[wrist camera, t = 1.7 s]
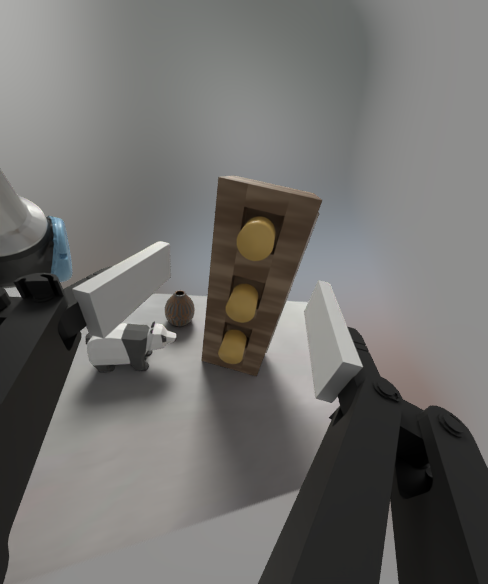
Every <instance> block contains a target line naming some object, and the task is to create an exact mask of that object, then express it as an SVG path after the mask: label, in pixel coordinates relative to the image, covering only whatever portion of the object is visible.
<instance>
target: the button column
mask: <svg viewBox="0 0 488 584" xmlns="http://www.w3.org/2000/svg"><path fill="white" fill-rule="evenodd" d="M321 203H322V200H321V199H320V198H319V197H318V196H316V195H315V194H314V193H310V192H305V191H301V190H296V189H292V188H287V187H282V186H278V185H274V184H269V183H264V182H260V181H256V180H251V179H247V178H242V177H238V176H224V177H219V178H218V189H217V199H216V211H215V221H214V232H213V244H212V253H211V265H210V276H209V287H208V297H207V308H206V319H205V329H204V340H203V351H202V361H204V362H208V363H211V364H215V365H218V366H222V367H225V368H229V369H233V370H236V371H240V372H243V373H247V374H250V375H254V376H257V374H258V371H259V368H260V366H261V363H262V360H263V358H264V355H265V353H267V350H268V348H269V345H270V342H271V340H272V337H273V335H274V332H275V329H276V326H277V324H278V321H279V319H280V316H281V313H282V311H283V308H284V305H285V303H286V300H287V298H288V295H289V293H290V290H291V287H292V284H293V281H294V279H295V276H296V273H297V271H298V268H299V266H300V263H301V260H302V258H303V255H304V252H305V250H306V248H307V245H308V243H309V240H310V237H311V234H312V232H313V229H314V226H315V224H316V221H317V218H318V216H319V212H318V210H319V208H320V205H321ZM258 216H259V217H265V218H267V219H269V220H270V221H271V222H272V223H273V225H274V227H275V240H274V246H273V250H272V252H271V253H270V255H269V256H268V257H266V258H265V259H263V260H260V261H251V260H248V259H246V258H245V257H243V256H242V255H241V253H240V252H239V250H238V248H237V236H238V234H239V232H240V231H241V230H242V228H243V227H244V226H245V224H246V223H247V222H248V221H249V220H250V219H252V218H254V217H258ZM239 284H249V285H251V286H253V287H254V288H255V289H256V290H257V292H258V301H257V306H256V310H255V315H254V317H253V318H252V319H251V320H250V321H248V322H244V323H241V322H236V321H234V320H232V319H231V318H230V317H229V316H228V315H227V313H226V305H227V303H228V300H229V298H230V296H231V294H232V291H233V289H234V288H235V287H236V286H237V285H239ZM229 330H239V331H241V332H242V333H244V334H245V336H246V338H247V340H246V345H245V349H244V353H243V358H242V361H241V362H240V363H237V364H229V363H226V362H224V361H223V360H221V359H220V357H219V355H218V352H219V349H220V346H221V344H222V341H223V338H224V336H225V333H226V332H227V331H229Z"/></svg>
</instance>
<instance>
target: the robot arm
mask: <svg viewBox="0 0 488 584" xmlns="http://www.w3.org/2000/svg"><path fill="white" fill-rule="evenodd" d="M71 276H72V264H71V256H70V249H69V243H68V238H67V233H66V228H65V224H64V222H63V220H62V219H60V218H55V217H52V216H48V217H46V216H45V214H44V213H43V212H42V210H41V209H40V208H39V207H38V206H37V205H35V204H34V203H32V202H31V201H29V200H27V199H26V198H23V197H21V196H19V195H17V193H16V192H15V190H14V189H13V187H12V186H11V184H10V183H9V181H8V179H7V178H6V176H5V175H4V173H3V172H2V170H1V169H0V584H3V582H4V579H5V575H6V572H7V568H8V561H9V551H8V538H9V534H10V530H11V527H12V525H13V522H14V519H15V516H16V514H17V511H18V508H19V506H20V503H21V500H22V497H23V495H24V492H25V489H26V487H27V484H28V481H29V478H30V476H31V473H32V470H33V468H34V465H35V462H36V459H37V457H38V454H39V451H40V449H41V446H42V443H43V440H44V438H45V435H46V432H47V430H48V427H49V424H50V421H51V419H52V416H53V413H54V411H55V408H56V405H57V402H58V400H59V397H60V394H61V392H62V389H63V386H64V383H65V381H66V378H67V375H68V373H69V370H70V367H71V364H72V362H73V359H74V356H75V354H76V351H77V348H78V345H79V343H80V340H81V332H80V331H81V330H82V329H83V328H84V327H86V326H87V329H88V332H89V334H90V335H93V336H96V337H100V338H103V339H104V338H105V337H106V336H107V335H109V334H110V333H111V332H112V331H113V330H114V329H115V328H116V327H117V326H118V325H119V324H121V323H122V322H123V321H124V320H125V319H126V318H127V317H128V316H129V315H130V314H131V313H133V312H134V311H135V310H136V309H137V308H138V307H139V306H140V305H141V304H142V303H143V302H145V301H146V300H147V299H148V298H149V297H150V296H151V295H152V294H153V293H154V292H155V291H156V290H158V289H159V288H160V287H161V286H162V285H163V284H164V283H165V282H166V281H167V280H168V279H170V278H171V266H170V244H169V243H165V242H161V241H159V242H157V243H155V244H153V245H152V246H150V247H148V248H146V249H144V250H142V251H140V252H139V253H137V254H135V255H133V256H131V257H130V258H128V259H126V260H124V261H122V262H120V263H118V264H117V265H115V266H113V267H112V266H111V267H108V268H104V269H101V270H99V271H97V272H95V273H93V275H89V276H88V277H86V278H84V279H82V280H80V281H78V282H76V283H74V284H73V285H71V286H69V287H67V288H65V289H63V288H62V286H61V284H60V282H63V281H67V280H69V279H70V278H71ZM12 287H16V288H17V290H18V291H19V293H20V295H21V297H9V295H8V294H7V292H6V290H5V289H4V288H12ZM304 314H305V322H306V329H307V337H308V344H309V352H310V360H311V367H312V375H313V382H314V390H315V397H316V399H320V400H323V401H327V402H330V403H332V402H333V401H334V400H335V399H336V398H337V397H338V398H339V403H340V406H339V407H338V408H337V410H336V411H335V412H334V413H333V414H332V415H331V416H330V417H329V418H330V419H332V420H331V423H330V425H329V427H328V429H327V432H326V434H325V436H324V438H323V440H322V443H321V445H320V447H319V449H318V452H317V454H316V456H315V458H314V460H313V463H312V465H311V467H310V469H309V472H308V474H307V476H306V478H305V480H304V483H303V485H302V487H301V489H300V491H299V494H298V496H297V498H296V501H295V503H294V505H293V507H292V509H291V511H290V514H289V516H288V518H287V520H286V523H285V525H284V527H283V529H282V531H281V534H280V536H279V538H278V540H277V543H276V545H275V547H274V549H273V551H272V554H271V556H270V558H269V560H268V563H267V565H266V567H265V569H264V571H263V574H262V576H261V578H260V580H259V583H258V584H379V580H380V572H381V565H382V557H383V549H384V541H385V535H386V527H387V519H388V511H389V504H390V501H391V511H392V521H393V531H394V540H395V550H396V560H397V571H398V581H399V584H488V468H487V466H486V464H485V462H484V459H483V457H482V455H481V453H480V451H479V448H478V446H477V444H476V442H475V440H474V438H473V436H472V434H471V433H470V431H469V429H468V428H467V427H466V426H465V425H464V424H463V423H462V422H461V421H460V420H459V419H458V418H457V417H456V416H454V415H453V414H452V413H450V412H449V411H447V410H445V409H444V408H441V407H438V406H429V407H428V408H426V409H425V410H422V409H420V408H418V407H417V406H415V405H413V404H411V403H409V402H407V401H405V400H403V399H402V397H401V395H400V393H399V391H398V390H397V389H396V388H395V387H394V386H393V384H391V383H390V382H389V381H387V380H386V379H384V378H382V377H381V376H380V374H379V372H378V370H377V368H376V366H375V364H374V361H373V359H372V357H371V355H370V353H369V352H368V348H367V346H365V345H366V344H365V342H364V340H363V338H362V336H361V335H360V334H359V333H358V331H357V330H356V329H354V328H350V327H347V325H346V323H345V320H344V318H343V315H342V313H341V310H340V308H339V305H338V303H337V300H336V298H335V295H334V293H333V290H332V288H331V285H330V283H327V282H323V281H318V283H317V285H316V287H315V289H314V291H313V293H312V295H311V298H310V300H309V302H308V304H307V306H306V309H305V311H304Z"/></svg>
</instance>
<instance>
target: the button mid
mask: <svg viewBox="0 0 488 584" xmlns="http://www.w3.org/2000/svg"><path fill="white" fill-rule="evenodd" d="M257 301H258V292H257V290H256V289H255V288H254V287H253V286H251V285H249V284H239V285H237V286H236V287H235V288H234V289H233V291H232V294H231V296H230V298H229V300H228V303H227V305H226V313H227V315H228V316H229V317H230V318H231V319H232V320H234V321H236V322H241V323H244V322H248V321H250V320H251V319H252V318H253V317H254V315H255V310H256V306H257Z"/></svg>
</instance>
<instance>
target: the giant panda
mask: <svg viewBox="0 0 488 584" xmlns="http://www.w3.org/2000/svg"><path fill="white" fill-rule="evenodd" d="M176 338H177V334H176V333H173V332H170V331H167V328H165V327H164V325H162V324H155V321H154V322H153V323H152V326H151V328H149V327H148V326H147V325H136V324H124V323H121V324H119V325H118V326H117V327H116V328H115V329H114V330H113V331H112V332H111V333H110V334H109V335H107V336H106V337H105V338H104V339H103V338H100V337H96V336H93V335H90V334H89V333H88V334H87V335H86V344H87V353H88V357H89V361H90V362H91V364H92V365H93V366H95V367H96V368H97V369H98V371H99V372H109V371H113V370H114V368H115V364H131V365H132V366H133V367H134V369H135V370H137V371H143V370H147V369H148V367H149V364H148V363H146V362H145V361H144V360H145V356H146V355H151V353H152V350H157V349H162V348H164V347H165V346H166V344H169V343H172V342H174V341H175V340H176Z"/></svg>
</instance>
